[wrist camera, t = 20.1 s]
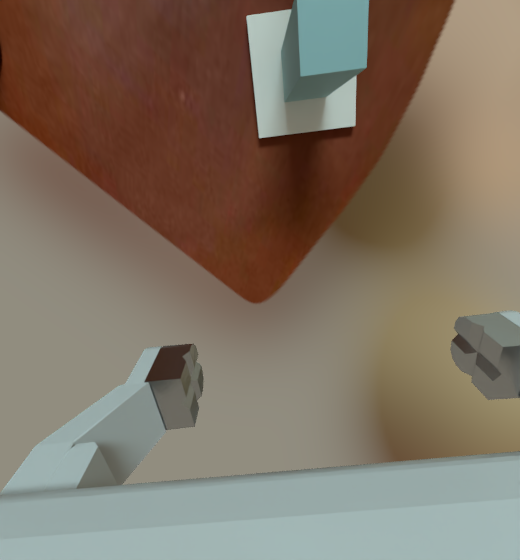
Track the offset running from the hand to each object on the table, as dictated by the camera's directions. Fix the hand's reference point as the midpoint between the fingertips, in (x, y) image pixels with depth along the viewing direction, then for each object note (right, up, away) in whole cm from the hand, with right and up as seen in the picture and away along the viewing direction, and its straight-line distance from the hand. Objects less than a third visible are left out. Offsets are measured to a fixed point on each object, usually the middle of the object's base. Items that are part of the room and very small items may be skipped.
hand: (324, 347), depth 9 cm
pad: (+3, +26, +25) cm, 37 cm away
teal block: (+3, +26, +25) cm, 36 cm away
